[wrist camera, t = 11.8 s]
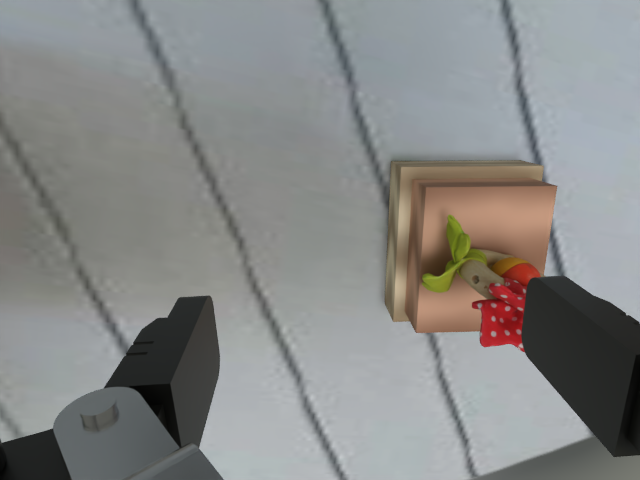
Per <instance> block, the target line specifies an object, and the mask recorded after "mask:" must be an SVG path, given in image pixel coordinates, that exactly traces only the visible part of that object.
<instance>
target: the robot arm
mask: <svg viewBox="0 0 640 480" xmlns="http://www.w3.org/2000/svg"><path fill="white" fill-rule="evenodd" d="M521 338H522V345H523V348H524V351H525V353H526V355H527V357H528V358H529V359H530V361H531V362H532V363H533V364H534V365H535V366H536V367H537V369H538V370H539V371H540V372H541V373H542V374H543V376H544V377H545V378H546V379H547V380H548V381H549V383H550V384H551V385H552V386H553V387H554V388H555V389H556V391H557V392H558V393H559V394H560V395H561V396H562V398H563V399H564V400H565V401H566V402H567V403H568V404H569V406H570V407H571V408H572V409H573V410H574V411H575V413H576V414H577V415H578V416H579V417H580V418H581V420H582V421H583V422H584V423H585V424H586V425H587V426H588V428H589V429H590V430H591V431H592V432H593V433H594V435H595V436H596V437H597V438H598V439H599V440H600V442H601V443H602V444H603V445H604V446H605V447H606V448H607V450H608V451H609V452H610V453H611V454H612V455H613V457H620V456H633V455H640V324H639V322H638V321H637V320H635V319H634V318H632V317H631V316H629V315H627V316H626V313H625V312H623V311H622V310H620V309H619V308H617V307H616V306H615V305H613V304H612V303H610V302H608V301H605V300H603V299H601V298H598V297H596V296H593V295H592V294H590V293H589V292H587V291H586V290H584V289H583V288H582V287H580V286H579V285H577V284H576V283H574V282H573V281H571V280H570V279H569V278H567V277H565V276H550V277H533V278H531V279H530V281H529V282H528V285H527V290H526V298H525V307H524V315H523V323H522V332H521ZM219 368H220V354H219V345H218V337H217V330H216V322H215V314H214V307H213V301H212V298H211V296H196V297H180V298H178V300H177V302H176V303H175V305H174V307H173V309H172V311H171V312H170V314H169V316H168V318H157V319H156V320H154V321H153V322H152V323H150V324H149V325H147V326H146V327H145V328H143V329H142V330H141V331H140V333H139V335H138V336H137V338H136V339H135V341H134V342H133V345H131V347H130V348H129V350H128V352H127V353H126V356H124V358H123V359H122V361H121V362H120V364H119V365H118V367H117V369H116V370H115V372H114V373H113V375H112V376H111V378H110V379H109V381H108V382H107V384H106V386H105V387H104V389H100V390H96V391H93V392H91V393H88V394H86V395H84V396H82V397H80V398H78V399H76V400H75V401H73V402H72V403H70V404H69V405H68V406H66V407H65V408H64V409H63V410H62V411H61V412H60V413H59V415H58V416H57V418H56V419H55V422H54V425H53V429H50V430H47V431H44V432H40V433H36V434H33V435H29V436H26V437H22V438H18V439H15V440H11V441H7V442H4V443H1V440H0V480H224V479H223V478H222V477H221V476H220V474H219V473H218V472H217V471H216V469H215V468H214V467H213V465H212V464H211V463H210V462H209V460H208V459H207V458H206V457H205V455H204V454H203V453H202V452H201V450H200V449H199V446H200V442H201V438H202V435H203V431H204V427H205V424H206V420H207V416H208V413H209V409H210V405H211V402H212V398H213V394H214V391H215V387H216V383H217V380H218V376H219Z"/></svg>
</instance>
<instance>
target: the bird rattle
mask: <svg viewBox="0 0 640 480" xmlns="http://www.w3.org/2000/svg"><path fill="white" fill-rule="evenodd" d="M447 219H448V223H447V232H446V237H447V239H448V241H449V245H450V249H451V253H452V257H453V259H454V260H451V261H449V262H448V263H447V265H446V268H445V272H444V273H443V274H442V275H441V276H434V275H432V274H430V273H427V274H424V275H423V276H422V279H423V281H424V282H422V285H423V286H424V287H425V288H426V289H427V290H430V291H433V292H437V293H442V292H447V291H448V290H449V289H450V287H451V285H452V282H453V280H454V278H455V276H456V271H457V273H458V274H459V276H460V277H461V278H462V279H464V280H465V281H466V282H467V283H468V284H469V285H470V286H471V287H472V288H473V289H474V290H475V291H477V292H478V293H479V294H481V295H482V296H483V297H485V298H486V299H485V300H478V301H474V302H472V308H474V309H478V310H481V314H482V317H481V328H480V343H481V345H482V346H483V347H490V346H499V345H505V344H512V345H514V346H516V347H517V348H518V349H519V350H521V351H523V352H525V351H524V348H523V345H522V338H521V332H522V323H523V315H524V307H525V298H526V290H527V285H528V282H529V281H530V279H531V278H533V277H546V276H544V275H543V274H541V273H540V272H538V270H537V269H536V268H535V267H534V266H533V265H532V264H531V263H529V262H528V261H526V260H523V259H520V258H515V257H514V256H512V255H505V254H501V253H497V252H494V251H489V250H481V249H470V244H471V240H470V237H469V235H468V234H465V233H464V231H463V230H462V227H461V225H460V223H459V222H458V221H457V220H456V219H455V218H454V216H452V215H448V217H447Z"/></svg>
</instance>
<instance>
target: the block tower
mask: <svg viewBox="0 0 640 480" xmlns="http://www.w3.org/2000/svg"><path fill="white" fill-rule="evenodd" d="M543 167H544V166H542V165H538V164H534V163H529V162H525V161H521V160H507V161H391V176H390V198H389V221H388V243H387V266H386V288H385V305H386V307H387V309H388V311H389V313H390V316H391V318H392V320H393V322H403V321H410V322H411V324H412V326H413V328H414V330H415V332H416V333H431V332H469V331H480V328H481V317H482V314H481V310H478V309H474V308H472V302H474V301H478V300H485V299H486V298H485V297H483V296H482V295H481V294H479V293H478V292H477V291H475V290H474V289H473V288H472V287H471V286H470V285H469V284H468V283H467V282H466V281H465V280H464V279H462V278H461V277H460V276H459V274H458V273H457V271H456V276H455V278H454V280H453V282H452V285H451V287H450V289H449V290H448V291H447V292H442V293H437V292H433V291H430V290H427V289H426V288H425V287H424V286H423V285H422V282H424V281H423V279H422V276H423V275H424V274H427V273H430V274H432V275H434V276H441V275H442V274H443V273H444V272H445V268H446V265H447V263H448V262H449V261H451V260H454V259H453V257H452V253H451V249H450V245H449V241H448V239H447V237H446V232H447V223H448V219H447V217H448V215H452V216H454V218H455V219H456V220H457V221H458V222H459V223H460V225H461V227H462V230H463V231H464V233H465V234H468V235H469V237H470V240H471V244H470V249H481V250H489V251H494V252H497V253H501V254H505V255H512V256H514V257H515V258H520V259H523V260H526V261H528V262H529V263H531V264H532V265H533V266H534V267H535V268H536V269H537V270H538V272H540V273H541V274H543V275H544V269H545V263H546V256H547V250H548V243H549V236H550V230H551V223H552V217H553V210H554V204H555V197H556V191H557V186H555V185H552V184H549V183H545V182H542V175H543Z"/></svg>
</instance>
